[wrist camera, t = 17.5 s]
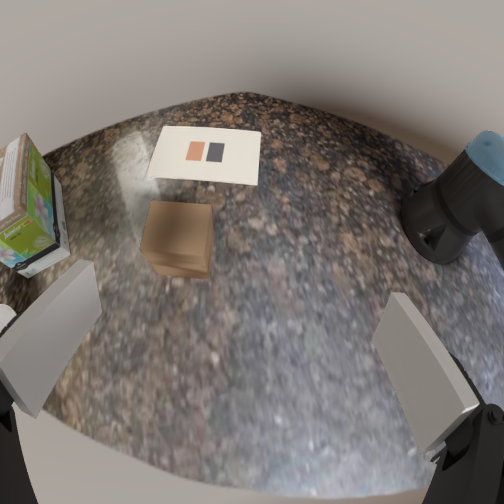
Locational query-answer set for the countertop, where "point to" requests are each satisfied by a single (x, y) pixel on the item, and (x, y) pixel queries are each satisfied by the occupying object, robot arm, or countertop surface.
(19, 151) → the tea box
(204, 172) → the tile
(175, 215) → the walnut block
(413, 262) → the countertop surface
